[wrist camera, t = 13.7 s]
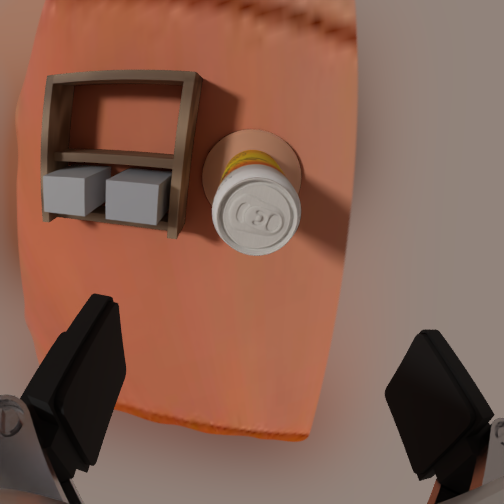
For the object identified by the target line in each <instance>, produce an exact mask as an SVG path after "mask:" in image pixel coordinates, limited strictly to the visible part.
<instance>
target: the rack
mask: <svg viewBox="0 0 504 504" xmlns="http://www.w3.org/2000/svg"><path fill="white" fill-rule="evenodd" d="M202 80H203V78H202V77H201V76H200V75H199V74H198V73H196V72H190V71H172V70H107V71H89V72H76V73H66V74H57V75H49V76H47V81H46V88H45V97H44V106H43V118H42V134H41V199H42V216H43V222H50V221H52V220H53V219H55V218H56V217H63V218H71V219H80V220H88V221H96V222H104V223H112V224H120V225H127V226H135V227H143V228H151V229H159V230H166V231H168V232H167V238H171V239H177V237H178V235H179V233H180V231H181V230H182V228H183V226H184V224H185V216H186V205H187V194H188V185H189V175H190V166H191V158H192V150H193V142H194V134H195V127H196V119H197V112H198V106H199V99H200V93H201V86H202ZM91 84H167V85H183V89H182V96H181V103H180V110H179V117H178V124H177V132H176V141H175V149H174V155H172V154H161V153H150V152H136V151H121V150H102V149H72V148H69V139H70V124H71V112H72V102H73V94H74V86H75V85H91ZM69 161H70V162H91V163H108V164H123V165H135V166H147V167H158V168H168V169H172V179H171V190H170V202H169V213H165V215H164V216H163V217H162V219H161V220H160V221H159V222H158V224H157V225H150V224H142V223H134V222H126V221H118V220H110V219H106V206H102V205H100V206H99V207H97V208H96V209H94V210H93V211H92V212H90V213H89V214H87V215H86V216H77V215H68V214H60V213H51V212H44V198H43V176H44V175H46V174H49V173H51V172H54V171H57V170H59V169H62V168H64V167H67V166H68V164H69Z"/></svg>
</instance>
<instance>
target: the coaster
mask: <svg viewBox="0 0 504 504" xmlns="http://www.w3.org/2000/svg"><path fill="white" fill-rule="evenodd" d="M246 150H259V151H263V152H265V153H267V154H268V155H270V156H271V157H272V158H273V159H274V160H275V161H276V163H277V164H278V165H279V167H280V168H281V170H282V171H283V173H284V174H285V176H286V177H287V179H288V180H289V181H290V183H291V184H292V186H293V187H294V189H295V191H296V192H297V194H298V193H299V190H300V186H301V168H300V164H299V161H298V159H297V156H296V155H295V153H294V151H293V150H292V148H291V147H290V146H289V145H288V144H287V143H286V142H285V141H284V140H282V139H281V138H280V137H278V136H276V135H274V134H272V133H270V132H267V131H263V130H258V129H246V130H240V131H237V132H234V133H231V134H229V135H227V136H226V137H224V138H223V139H221V140H220V141H219V142H218V143H217V144H216V145H215V146H214V147H213V148H212V150H211V151H210V152H209V154H208V156H207V158H206V160H205V163H204V167H203V172H202V182H203V188H204V192H205V195H206V197H207V199H208V201H209V203H210V204H211V205H213V200H214V197H215V195H216V192H217V189H218V187H219V184H220V181H221V179H222V176H223V174H224V171H225V168H226V166H227V164H228V162H229V161H230V160H231V159H232V158H233V157H234V156H235V155H236V154H238V153H240V152H242V151H246Z"/></svg>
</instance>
